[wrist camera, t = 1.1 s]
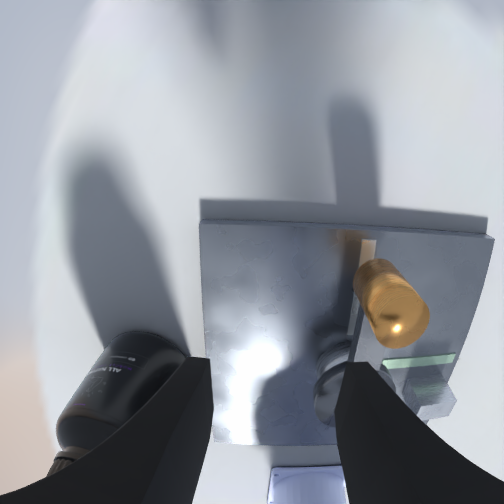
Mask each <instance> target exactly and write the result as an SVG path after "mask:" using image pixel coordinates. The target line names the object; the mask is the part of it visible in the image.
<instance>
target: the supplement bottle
mask: <svg viewBox="0 0 504 504" xmlns="http://www.w3.org/2000/svg"><path fill="white" fill-rule="evenodd" d="M185 359H186V357H185V356H184V355H183V354H182V352H181V351H180V350H179V349H178V348H176V347H175V346H174V345H173V344H171V343H170V342H168V341H167V340H165V339H163V338H161V337H159V336H156V335H154V334H150V333H146V332H127V333H123V334H121V335H119V336H117V337H115V338H114V339H113V340H112V341H111V342H110V343H109V345H108V346H107V347H106V349H105V350H104V351H103V353H102V354H101V355H100V357H99V358H98V360H97V361H96V363H95V364H94V365H93V367H92V368H91V370H90V371H89V373H88V374H87V376H86V377H85V379H84V380H83V381H82V383H81V384H80V386H79V387H78V389H77V390H76V392H75V393H74V395H73V396H72V398H71V399H70V401H69V402H68V404H67V405H66V407H65V408H64V410H63V412H62V413H61V415H60V417H59V419H58V421H57V424H56V435H57V439H58V442H59V445H60V447H61V448H62V450H63V451H60V452H58V453H57V455H56V457H55V459H54V463H53V465H52V467H51V468H50V470H49V472H48V474H47V476H50V475H52V474H54V473H56V472H57V471H59V470H61V469H63V468H65V467H66V466H68V465H70V464H71V463H73V462H74V461H76V460H77V459H79V458H81V457H82V456H84V455H85V454H87V453H88V452H90V451H91V450H92V449H94V448H95V447H97V446H98V445H99V444H101V443H102V442H103V441H105V440H106V439H107V438H108V437H110V436H111V435H112V434H113V433H114V432H116V431H117V430H118V429H119V428H120V427H121V426H123V425H124V424H125V423H126V422H127V421H128V420H129V419H130V418H131V417H132V416H133V415H134V414H136V413H137V412H138V411H139V410H140V409H141V408H142V407H143V406H144V405H145V404H146V403H147V402H148V401H149V400H150V398H151V397H152V396H153V395H154V394H155V393H156V392H157V391H158V390H159V389H160V388H161V387H162V386H163V384H164V383H165V382H166V381H167V380H168V379H169V378H170V376H171V375H172V374H173V373H174V372H175V371H176V369H177V368H178V367H179V366H180V364H181V363H182V362H183V361H184V360H185ZM47 476H46V477H47Z"/></svg>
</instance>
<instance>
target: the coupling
mask: <svg viewBox="0 0 504 504" xmlns="http://www.w3.org/2000/svg"><path fill="white" fill-rule="evenodd" d="M353 289H354V292H355V294H356V296H357V298H358V300H359V308H358V313H357V318H356V323H355V328H354V333H353V338H352V343H351V347H350V352H349V356H348V360H347V361H344V362H342V363H339V364H337V365H335V366H333V367H332V368H330V369H329V370H327V371H326V372H325V373H324V374H323V375H321V377H320V378H319V379H318V381H317V382H316V384H315V386H314V389H313V400H314V408H315V413H316V416H317V418H318V419H319V420H320V421H321V422H322V423H324V424H325V425H328V426H330V427H334V428H336V427H335V414H334V411H335V407H336V403H337V400H338V396H339V392H340V388H341V384H342V380H343V376H344V372H345V368H346V364H347V362H366V361H368V362H369V363H370V364H371V366H372V367H373V368H374V369H375V370H376V371H377V372H378V374H379V375H380V376H381V377H382V378H383V379H384V380H385V382H386V383H387V384H388V385H389V386H390V387H391V388H392V389H393V391H394V392H395V393H396V387H395V384H394V382H393V380H392V377H391V375H390V372H389V370H388V369H387V367H386V366H385V365H383V364H382V360H383V356H384V353H385V349H386V347H387V348H392V349H398V348H403V347H406V346H408V345H410V344H412V343H414V342H415V341H416V340H418V339H419V338H420V337H421V336H422V334H423V333H424V332H425V330H426V328H427V326H428V323H429V319H430V312H429V308H428V306H427V304H426V303H425V302H424V301H423V299H422V298H421V297H420V296H419V295H418V293H417V292H416V291H415V290H414V288H413V287H412V286H411V285H410V284H409V282H408V281H407V280H406V279H405V278H404V277H403V275H402V274H401V273H400V272H399V271H398V270H397V268H396V267H395V266H394V265H393V264H392V263H391V262H390V261H388V260H386V259H382V258H376V259H371V260H369V261H367V262H365V263H364V264H362V265H361V266H360V267H359V268H358V270H357V271H356V273H355V275H354V278H353Z"/></svg>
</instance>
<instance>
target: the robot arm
mask: <svg viewBox="0 0 504 504" xmlns="http://www.w3.org/2000/svg"><path fill="white" fill-rule="evenodd" d="M213 412H214V402H213V390H212V378H211V364H210V358H199V357H187V358H186V359H185V360H184V361H183V362H182V363H181V364H180V366H179V367H178V368H177V369H176V371H175V372H174V373H173V374H172V375H171V376H170V378H169V379H168V380H167V381H166V382H165V383H164V384H163V386H162V387H161V388H160V389H159V390H158V391H157V392H156V393H155V394H154V395H153V396H152V397H151V398H150V400H149V401H148V402H147V403H146V404H145V405H144V406H143V407H142V408H141V409H140V410H139V411H138V412H137V413H136V414H134V415H133V416H132V417H131V418H130V419H129V420H128V421H127V422H126V423H125V424H124V425H123V426H121V427H120V428H119V429H118V430H117V431H116V432H114V433H113V434H112V435H111V436H110V437H108V438H107V439H106V440H105V441H103V442H102V443H101V444H99V445H98V446H97V447H95V448H94V449H92V450H91V451H90V452H88V453H87V454H85V455H84V456H82V457H81V458H79V459H77V460H76V461H74V462H73V463H71V464H70V465H68V466H66V467H65V468H63V469H61V470H59V471H57V472H56V473H54V474H52V475H50V476H47V477H45V478H43V479H41V480H39V481H37V482H35V483H33V484H30V485H28V486H26V487H24V488H21V489H18V490H16V491H13V492H10V493H7V494H3V495H0V504H192V501H193V498H194V494H195V490H196V487H197V483H198V480H199V476H200V473H201V469H202V465H203V462H204V458H205V454H206V451H207V447H208V443H209V439H210V433H211V427H212V420H213ZM334 414H335V427H336V438H337V445H338V450H339V455H340V459H341V464H342V465H341V466H326V467H295V468H280V467H277V468H273V469H272V472H271V479H270V486H269V493H268V500H267V504H346V498H345V491H344V488H345V486H346V488H347V493H348V498H349V504H504V482H503V481H502V480H500V479H498V478H496V477H494V476H493V475H491V474H489V473H488V472H486V471H484V470H483V469H481V468H480V467H478V466H476V465H475V464H474V463H472V462H471V461H469V460H468V459H466V458H465V457H464V456H462V455H461V454H460V453H459V452H457V451H456V450H455V449H453V448H452V447H451V446H449V445H448V444H447V443H446V442H445V441H443V440H442V439H441V438H440V437H439V436H438V435H437V434H436V433H435V432H433V431H432V430H431V429H430V428H429V427H428V426H427V425H426V424H425V423H424V422H423V421H422V420H421V419H420V418H419V417H418V416H417V415H416V414H415V413H414V412H413V411H412V410H411V409H410V408H409V407H408V406H407V405H406V404H405V403H404V402H403V401H402V400H401V398H400V397H399V396H398V395H397V394H396V393H395V392H394V391H393V389H392V388H391V387H390V386H389V385H388V384H387V383H386V382H385V380H384V379H383V378H382V377H381V376H380V375H379V374H378V372H377V371H376V370H375V369H374V368H373V367H372V366H371V364H370V363H369V362H368V361H366V362H347V364H346V368H345V372H344V376H343V380H342V384H341V388H340V392H339V396H338V400H337V403H336V407H335V411H334Z"/></svg>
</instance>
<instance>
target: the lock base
mask: <svg viewBox="0 0 504 504" xmlns="http://www.w3.org/2000/svg"><path fill="white" fill-rule="evenodd" d="M199 239H200V265H201V286H202V304H203V320H204V335H205V349H206V358H210V364H211V378H212V390H213V402H214V412H213V420H212V426H213V435H214V442H222V443H234V444H250V445H279V446H304V445H332V444H337V438H336V428H334V427H330V426H328V425H325V424H324V423H322V422H321V421H320V420H319V419H318V418H317V416H316V413H315V408H314V400H313V389H314V386H315V384H316V382H317V381H318V379H319V378H320V377H321V375H323V374H324V373H325V372H326V371H327V370H329V369H330V368H332V367H333V366H335V365H337V364H339V363H342V362H344V361H347V360H348V356H349V352H350V347H351V343H352V338H353V333H354V328H355V323H356V318H357V313H358V308H359V300H358V298H357V296H356V294H355V292H354V289H353V278H354V275H355V273H356V271H357V270H358V268H359V267H360V266H361V265H362V264H364V263H365V262H367V261H369V260H371V259H376V258H382V259H386V260H388V261H390V262H391V263H392V264H393V265H394V266H395V267H396V268H397V270H398V271H399V272H400V273H401V274H402V275H403V277H404V278H405V279H406V280H407V281H408V282H409V284H410V285H411V286H412V287H413V288H414V290H415V291H416V292H417V293H418V295H419V296H420V297H421V298H422V299H423V301H424V302H425V303H426V304H427V306H428V308H429V312H430V319H429V323H428V326H427V328H426V330H425V332H424V333H423V334H422V336H421V337H420V338H419V339H418V340H416V341H415V342H414V343H412V344H410V345H408V346H406V347H403V348H398V349H392V348H387V347H386V349H385V353H384V356H383V360H382V364H383V365H385V366H386V367H387V369H388V370H389V372H390V375H391V377H392V380H393V382H394V384H395V387H396V394H397V395H398V396H399V397H400V398H401V400H402V401H403V402H404V403H405V404H406V405H407V406H408V407H409V408H410V409H411V410H412V411H413V412H414V413H415V414H416V415H417V416H418V417H419V418H420V419H421V420H422V421H423V422H424V423H425V424H427V422H428V421H429V419H434V418H440V417H445V416H449V414H450V412H451V410H452V409H453V407H454V405H455V403H456V401H457V400H456V398H455V396H454V394H453V392H452V391H451V389H450V387H449V385H448V384H447V383H448V380H449V378H450V376H451V374H452V371H453V369H454V367H455V365H456V362H457V360H458V357H459V355H460V352H461V350H462V347H463V345H464V342H465V340H466V337H467V334H468V332H469V329H470V326H471V323H472V320H473V317H474V314H475V311H476V308H477V305H478V302H479V299H480V295H481V292H482V289H483V285H484V282H485V278H486V274H487V270H488V266H489V262H490V258H491V254H492V250H493V245H494V240H495V239H494V238H492V237H490V236H489V235H487V234H478V233H466V232H454V231H441V230H428V229H414V228H399V227H383V226H366V225H348V224H328V223H306V222H281V221H252V220H215V219H203V220H202V221H201V222H200V223H199Z"/></svg>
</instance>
